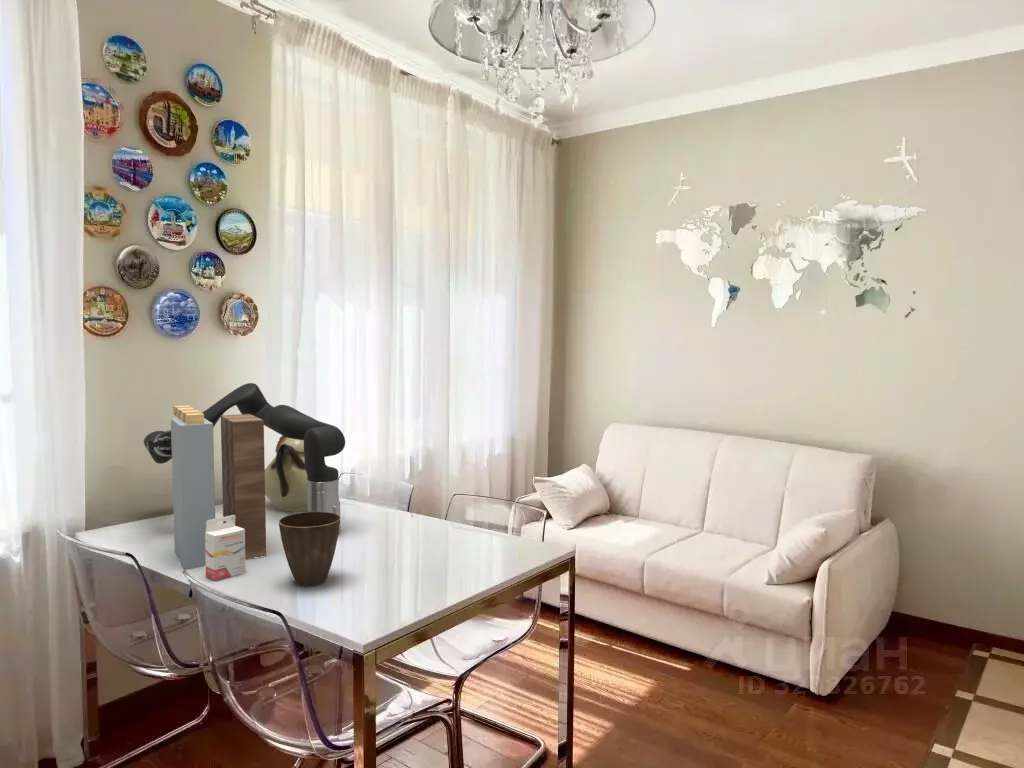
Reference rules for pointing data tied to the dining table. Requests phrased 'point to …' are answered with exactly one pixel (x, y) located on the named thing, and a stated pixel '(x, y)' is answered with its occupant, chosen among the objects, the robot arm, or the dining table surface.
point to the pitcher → (287, 476)
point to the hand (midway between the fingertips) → (178, 439)
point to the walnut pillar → (245, 478)
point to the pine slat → (188, 414)
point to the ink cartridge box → (224, 548)
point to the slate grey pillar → (192, 489)
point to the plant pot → (309, 545)
